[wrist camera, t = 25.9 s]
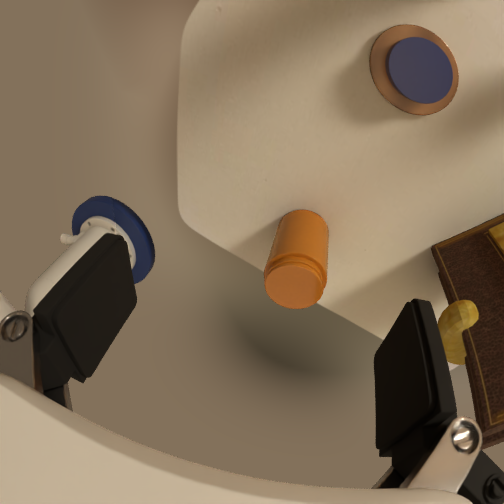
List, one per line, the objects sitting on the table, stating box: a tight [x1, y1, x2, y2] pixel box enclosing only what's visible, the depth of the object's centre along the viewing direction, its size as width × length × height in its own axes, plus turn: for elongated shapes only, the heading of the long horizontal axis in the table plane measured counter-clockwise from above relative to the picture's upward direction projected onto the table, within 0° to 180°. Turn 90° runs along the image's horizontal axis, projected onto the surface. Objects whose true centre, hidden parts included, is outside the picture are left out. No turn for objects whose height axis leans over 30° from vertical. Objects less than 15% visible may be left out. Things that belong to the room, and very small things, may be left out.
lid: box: [385, 37, 453, 104], centre depth 22 cm, size 7×7×2 cm
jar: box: [264, 210, 329, 309], centre depth 33 cm, size 6×6×10 cm
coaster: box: [369, 25, 459, 115], centre depth 23 cm, size 10×10×1 cm
